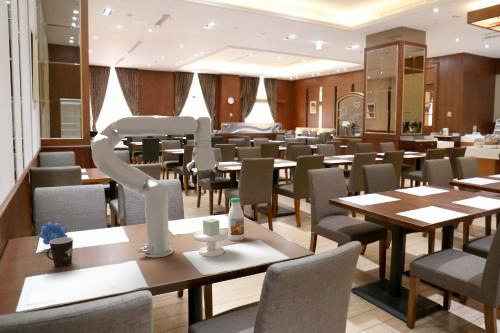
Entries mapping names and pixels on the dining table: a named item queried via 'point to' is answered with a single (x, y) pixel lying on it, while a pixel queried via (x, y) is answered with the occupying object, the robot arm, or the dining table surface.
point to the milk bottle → (235, 221)
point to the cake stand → (211, 243)
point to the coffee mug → (61, 251)
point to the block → (211, 227)
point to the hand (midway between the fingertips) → (203, 182)
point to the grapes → (52, 232)
